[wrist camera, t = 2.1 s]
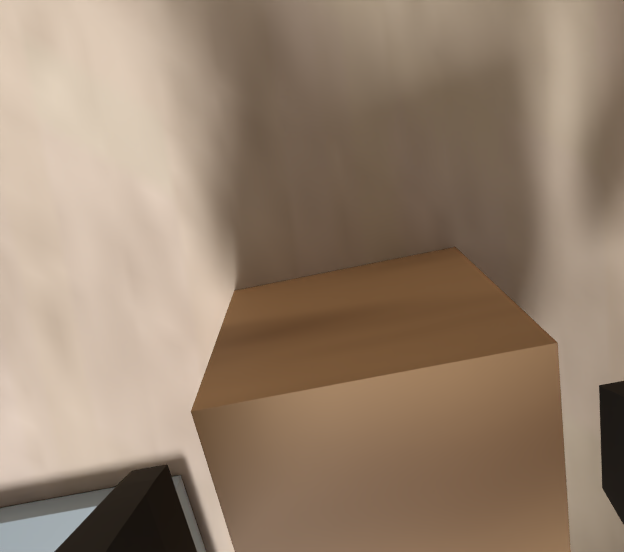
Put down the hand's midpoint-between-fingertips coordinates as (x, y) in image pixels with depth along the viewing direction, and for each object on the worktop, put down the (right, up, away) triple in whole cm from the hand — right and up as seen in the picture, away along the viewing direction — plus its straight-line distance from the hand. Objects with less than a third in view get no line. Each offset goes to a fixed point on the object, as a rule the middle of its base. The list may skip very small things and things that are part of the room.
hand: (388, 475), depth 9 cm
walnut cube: (0, +1, +4) cm, 4 cm away
